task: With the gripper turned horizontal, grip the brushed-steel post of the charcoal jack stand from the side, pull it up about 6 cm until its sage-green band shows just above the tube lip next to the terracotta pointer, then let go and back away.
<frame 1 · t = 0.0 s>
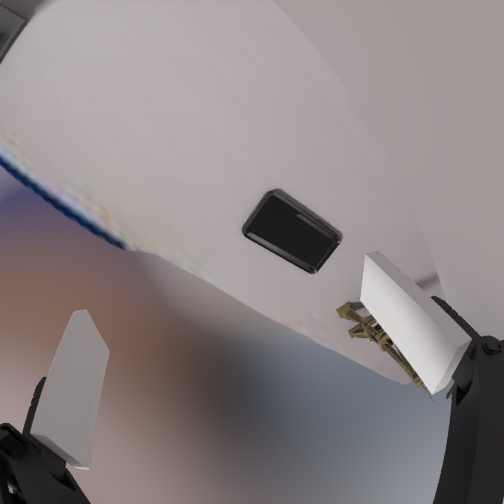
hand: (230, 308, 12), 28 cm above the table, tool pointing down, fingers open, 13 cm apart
phone: (292, 232, 44), on the table
eiffel tower: (364, 309, 55), on the table
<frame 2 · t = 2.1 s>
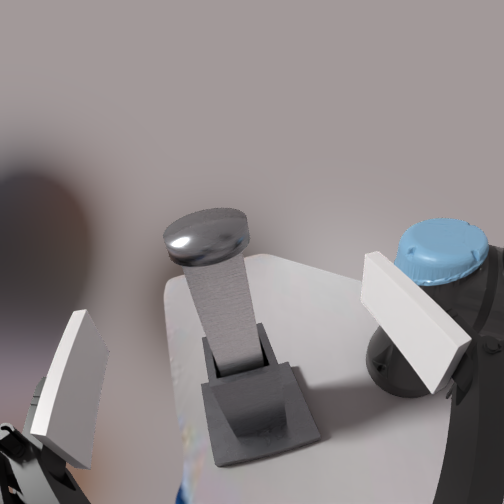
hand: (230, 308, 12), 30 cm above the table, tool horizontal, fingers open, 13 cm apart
jack stand base: (256, 415, 36), on the table
column: (236, 348, 28), point 16 cm above the table, slide at 0.0 cm
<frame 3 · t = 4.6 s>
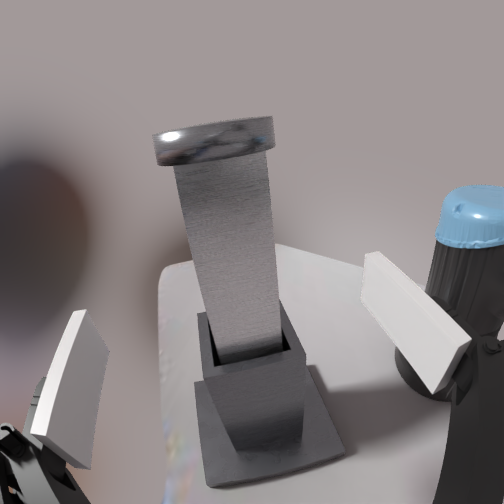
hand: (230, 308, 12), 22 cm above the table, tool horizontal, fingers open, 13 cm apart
jack stand base: (262, 423, 28), on the table
column: (244, 325, 20), point 16 cm above the table, slide at 0.0 cm
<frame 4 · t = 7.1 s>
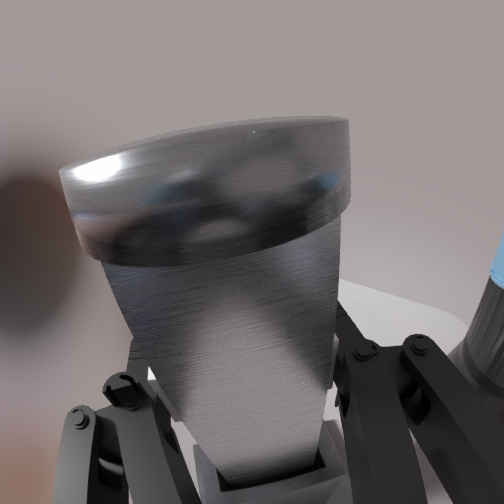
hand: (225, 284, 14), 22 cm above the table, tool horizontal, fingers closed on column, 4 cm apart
jack stand base: (275, 492, 20), on the table
column: (260, 435, 12), point 16 cm above the table, slide at 0.0 cm, touching gripper
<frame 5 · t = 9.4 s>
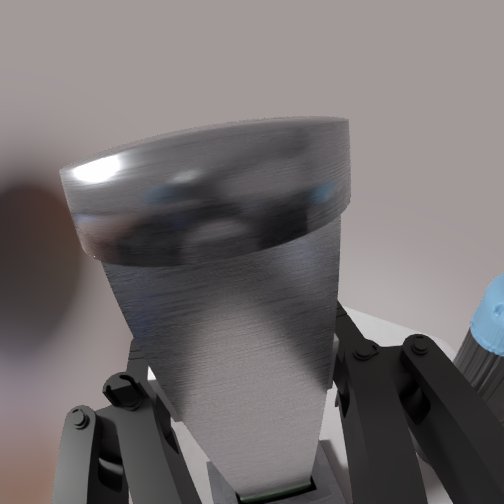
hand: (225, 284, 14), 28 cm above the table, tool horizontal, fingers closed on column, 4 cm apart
jack stand base: (277, 501, 23), on the table
column: (260, 435, 12), point 22 cm above the table, slide at 6.0 cm, touching gripper
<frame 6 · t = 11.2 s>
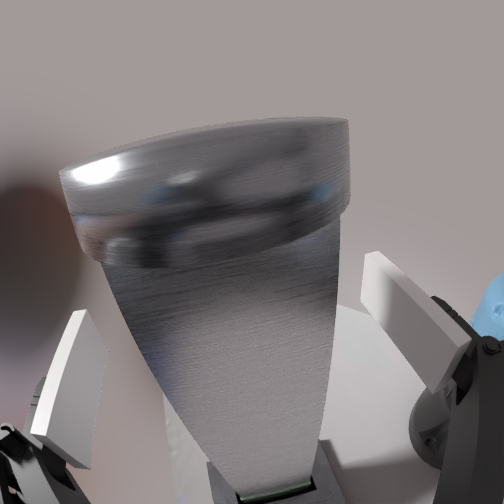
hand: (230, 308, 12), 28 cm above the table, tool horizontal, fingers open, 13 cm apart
jack stand base: (277, 501, 23), on the table
column: (260, 435, 12), point 22 cm above the table, slide at 6.0 cm
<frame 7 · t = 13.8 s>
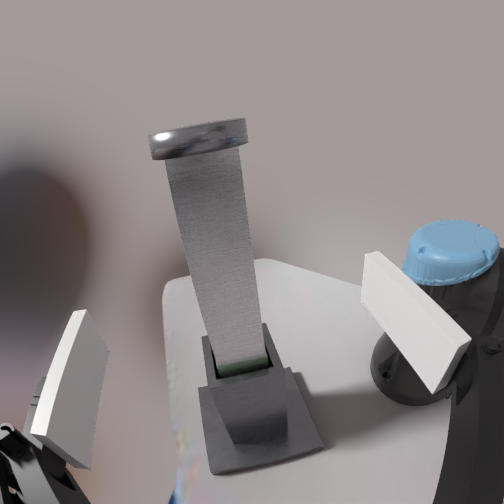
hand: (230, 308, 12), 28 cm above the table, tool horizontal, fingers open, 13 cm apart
jack stand base: (255, 421, 34), on the table
column: (227, 299, 23), point 22 cm above the table, slide at 6.0 cm
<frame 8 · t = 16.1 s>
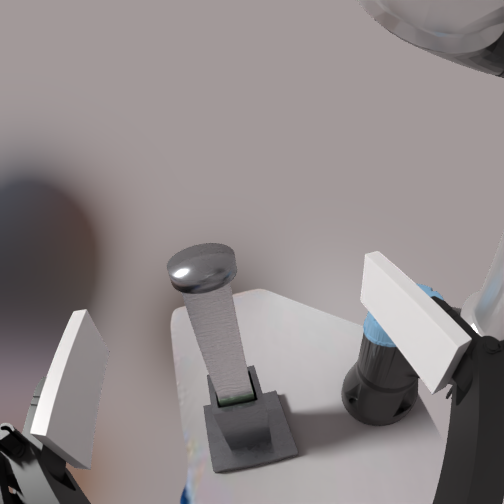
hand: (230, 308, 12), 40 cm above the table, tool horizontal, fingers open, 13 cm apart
jack stand base: (248, 432, 43), on the table
column: (225, 358, 33), point 22 cm above the table, slide at 6.0 cm
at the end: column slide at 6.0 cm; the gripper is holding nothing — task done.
